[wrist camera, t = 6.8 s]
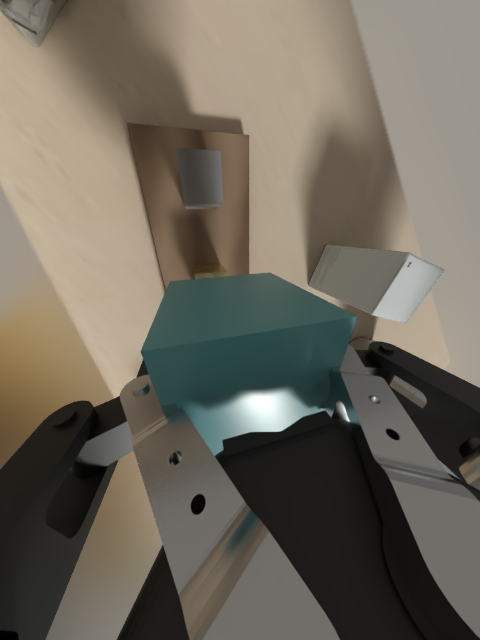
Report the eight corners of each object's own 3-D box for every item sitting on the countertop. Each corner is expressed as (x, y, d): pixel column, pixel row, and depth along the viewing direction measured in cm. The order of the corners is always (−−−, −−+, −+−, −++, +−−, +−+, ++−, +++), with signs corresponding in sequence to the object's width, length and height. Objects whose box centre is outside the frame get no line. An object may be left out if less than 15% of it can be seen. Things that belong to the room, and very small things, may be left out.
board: (245, 141, 20) (269, 101, 14) (246, 302, 29) (260, 320, 23) (131, 131, 17) (100, 77, 11) (172, 310, 27) (166, 333, 21)
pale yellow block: (220, 263, 24) (227, 271, 19) (222, 288, 25) (229, 301, 21) (193, 265, 23) (194, 273, 18) (197, 291, 25) (198, 305, 20)
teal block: (269, 272, 12) (357, 316, 5) (265, 349, 14) (319, 432, 8) (169, 281, 10) (140, 351, 4) (187, 363, 13) (185, 474, 7)
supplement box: (306, 286, 31) (370, 315, 20) (326, 243, 28) (412, 249, 17) (336, 294, 33) (407, 325, 22) (356, 256, 31) (448, 269, 20)
